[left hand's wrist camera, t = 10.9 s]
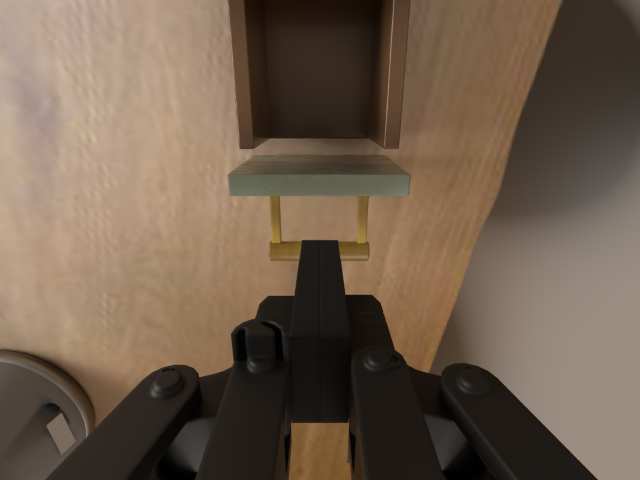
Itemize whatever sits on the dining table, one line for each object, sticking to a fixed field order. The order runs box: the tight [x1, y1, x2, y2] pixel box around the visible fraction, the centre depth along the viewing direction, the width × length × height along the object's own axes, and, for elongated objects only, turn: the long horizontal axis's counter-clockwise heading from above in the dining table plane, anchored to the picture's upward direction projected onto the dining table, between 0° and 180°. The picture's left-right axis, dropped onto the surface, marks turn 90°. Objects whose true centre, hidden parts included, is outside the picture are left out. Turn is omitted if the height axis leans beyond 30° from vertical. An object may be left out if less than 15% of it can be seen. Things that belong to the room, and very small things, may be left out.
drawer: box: [227, 0, 410, 261], centre depth 21 cm, size 24×10×8 cm, turn 0°
